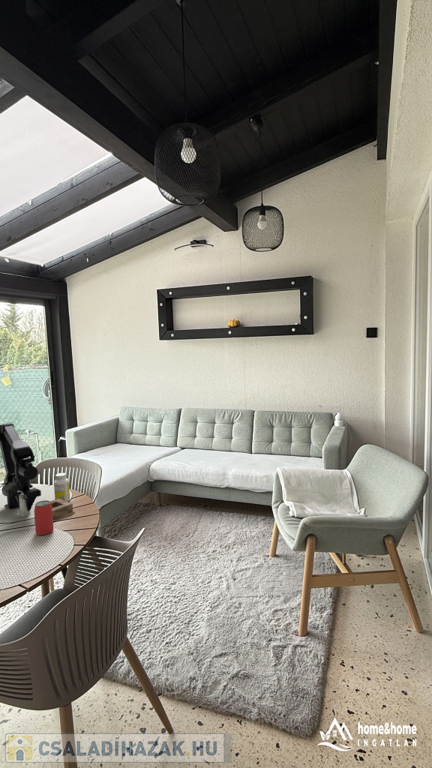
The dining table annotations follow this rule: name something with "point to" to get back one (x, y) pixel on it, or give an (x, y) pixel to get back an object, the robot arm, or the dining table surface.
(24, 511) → the peg
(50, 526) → the beer can
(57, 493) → the supplement bottle
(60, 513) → the socket
